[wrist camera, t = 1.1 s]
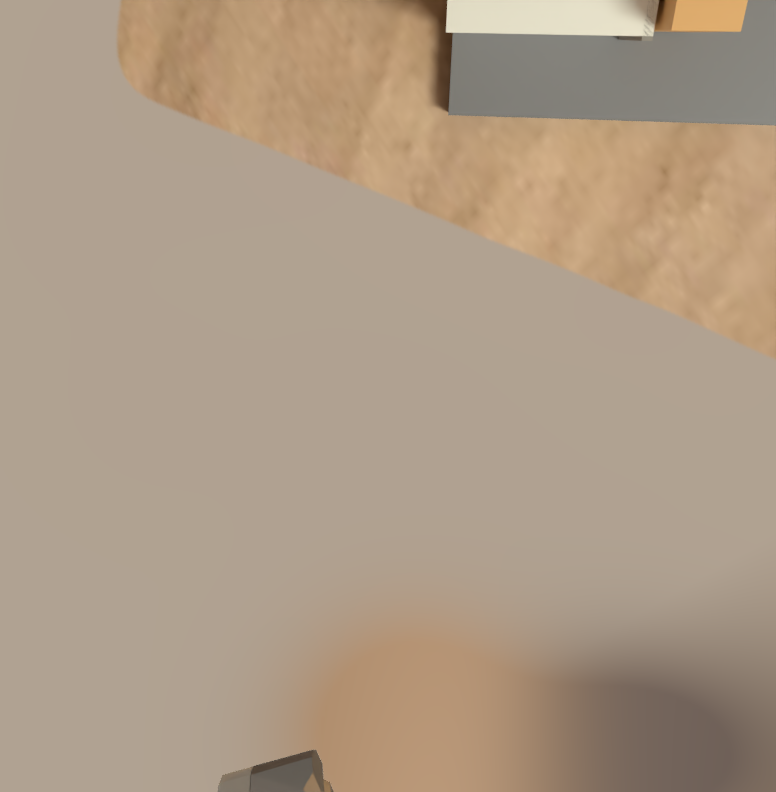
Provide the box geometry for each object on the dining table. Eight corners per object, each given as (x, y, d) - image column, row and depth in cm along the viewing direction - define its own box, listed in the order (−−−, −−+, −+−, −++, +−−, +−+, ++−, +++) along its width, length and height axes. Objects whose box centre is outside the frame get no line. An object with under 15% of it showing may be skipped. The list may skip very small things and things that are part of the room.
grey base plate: (461, -121, 38) (455, -157, 31) (929, -123, 36) (1040, -163, 29) (449, 113, 44) (441, 128, 37) (853, 125, 41) (929, 145, 34)
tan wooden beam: (643, -21, 38) (683, -35, 30) (700, -20, 38) (755, -34, 30) (635, 31, 39) (671, 30, 31) (690, 32, 39) (740, 31, 31)
